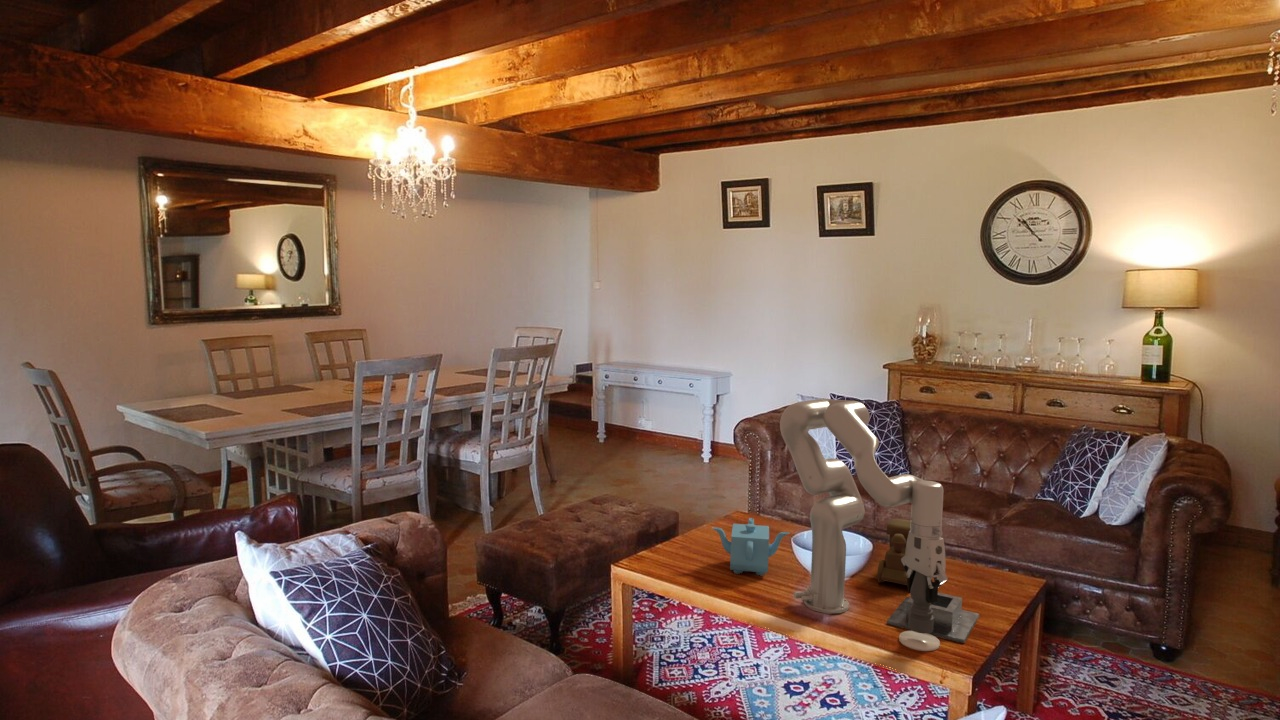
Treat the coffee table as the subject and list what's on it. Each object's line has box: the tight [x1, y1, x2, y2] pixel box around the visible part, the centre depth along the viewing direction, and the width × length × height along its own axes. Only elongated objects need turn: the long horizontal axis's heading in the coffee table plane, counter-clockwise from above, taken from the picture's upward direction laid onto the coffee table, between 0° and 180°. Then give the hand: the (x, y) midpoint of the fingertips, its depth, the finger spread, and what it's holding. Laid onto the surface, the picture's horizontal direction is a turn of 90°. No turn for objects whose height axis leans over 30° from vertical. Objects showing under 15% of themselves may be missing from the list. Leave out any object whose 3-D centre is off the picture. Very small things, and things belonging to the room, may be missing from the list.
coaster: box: [898, 630, 941, 652], centre depth 205 cm, size 10×10×1 cm
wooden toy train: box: [876, 518, 911, 587], centre depth 248 cm, size 20×11×17 cm, turn 151°
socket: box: [886, 591, 980, 644], centre depth 218 cm, size 20×20×6 cm
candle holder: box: [908, 537, 934, 634], centre depth 204 cm, size 6×6×25 cm
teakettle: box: [711, 517, 790, 576], centre depth 255 cm, size 19×19×15 cm
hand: (922, 596), depth 204 cm, fingers closed on candle holder, 5 cm apart
